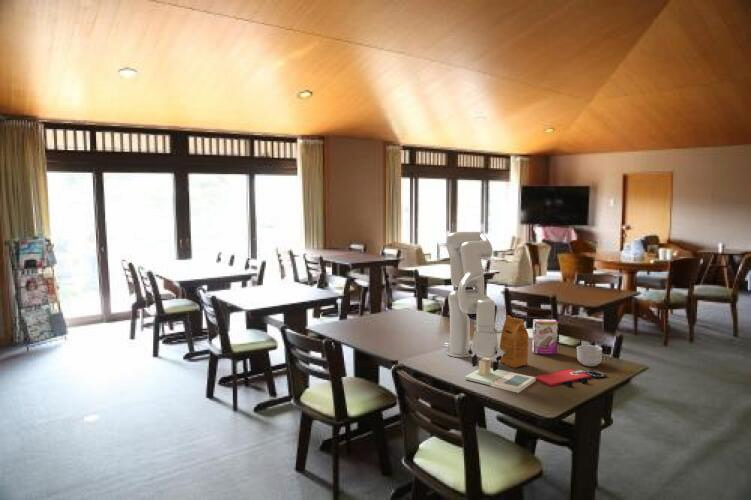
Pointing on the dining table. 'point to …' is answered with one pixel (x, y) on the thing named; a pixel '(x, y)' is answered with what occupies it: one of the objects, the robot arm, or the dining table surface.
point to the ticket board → (513, 382)
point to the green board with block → (485, 373)
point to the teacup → (589, 355)
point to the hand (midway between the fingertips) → (484, 368)
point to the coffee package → (514, 343)
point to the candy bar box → (545, 336)
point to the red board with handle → (567, 377)
